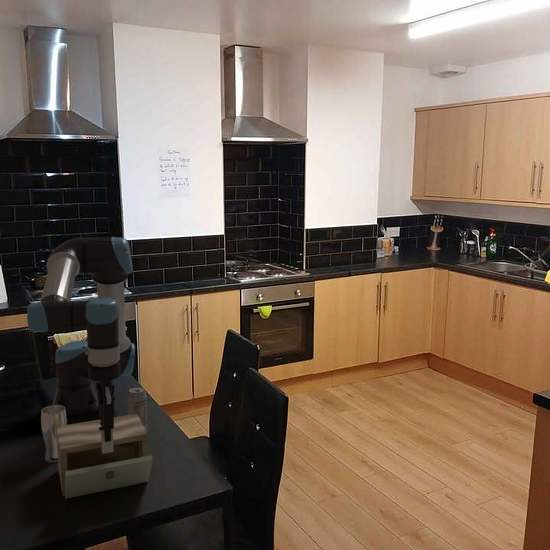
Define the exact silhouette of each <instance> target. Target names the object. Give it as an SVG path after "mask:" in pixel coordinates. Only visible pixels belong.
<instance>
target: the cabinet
mask: <svg viewBox="0 0 550 550" xmlns="http://www.w3.org/2000/svg"><path fill="white" fill-rule="evenodd" d="M99 427H102V426H101V425H100V420H99V419H96V420H89V421H83V422H77V423H71V424H67V425H63V426H57V427H56V434H57V451H58V462H57V466H58V467H57V468H58V469H57V470H58V475H59V476H58V477H59V481H60V488H61V494H62V495H61V496H62V497H65V471H71V470H76V469H81V468H86V467H92V466H97V465H102V464H108V463H113V462H118V461H124V460H129V459H134V458H140V457H145V456H149V445H148V444H149V442H148V441H149V439H148V436H149V435H148V431H147V432H146V430H145V428H144V426H143V424H142V422H141V420H140V418H139V416H138V415H137V414H133V415H128V414H126V415H122V416H114V429H113V452H109V453H104V454H102V448H101V430H100V431H99Z"/></svg>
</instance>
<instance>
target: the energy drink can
mask: <svg viewBox="0 0 550 550" xmlns="http://www.w3.org/2000/svg"><path fill="white" fill-rule="evenodd" d="M147 401H148V399H147V392H146V391H145V388H144V387H138V386H135V387H132V388H129V389H128V393H127V395H126V403H127V404H126V405H127V406H126V407H127V411H126V412H127V415H133V414H137V415H138V416H139V418H140V420H141V422H142V424H143V426H144V428H145V430H146V432H147V433H148V407H147V406H148V403H147Z"/></svg>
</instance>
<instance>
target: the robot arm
mask: <svg viewBox="0 0 550 550" xmlns="http://www.w3.org/2000/svg"><path fill="white" fill-rule="evenodd" d="M132 262H133V260H132V254H131V248H130V244H129V241H128V239H126V238H125V237H117V236H116V237H115V236H111V237H77V238H76V237H75V238H72V239H69V240H66V241H64V242H63V243H61V244H59V245H58V246H57V247H55V249H53V250H52V252H51V253H50V254H49V256H48V258H47V260H46V270H47V274H46V279H45V282H44V286H43V291H42V294H41V296H40V300H39V301H37V302H31V303H29V305H28V306H27V312H26V317H27V318H26V321H27V322H26V323H27V328H28V330H29V331H30V332H32V333H50V332H53V333H54V332H65V331H66V332H67V331H68V332H69V331H86V337H87V340H83V339H82V340H73V341H71V342H67V343H64V344H62V345H60V346H58V348H57V349H56V350H55V360H54V363H55V371H56V372H55V373H56V374H55V375H56V391H55V395H54V398H53V402H52V405H62V406H64V407H65V410H66V417H68V416H69V417H70V416H80V415H84V414H87V413H90V412H92V411H95V409H97V408H98V420H100V425H101V426H102V427H99V431H100V430H101V448H102V454H104V453H109V452H113V429H114V417H115V398H116V397H115V396H114V393H115V385H114V384H113V381H114V380H117V379H119V378H121V377H127V376H131V374H133V371H134V365H135V355H136V354H135V352H136V347H135V343H133V342H131V340H130V338H129V337H128V336H127V334H126V333H127V331H126V328H127V327H126V311H125V310H126V307H125V282H126V281H127V280H128V279H129V274H132V273H133V271H134V270H133V263H132ZM78 275H90V277H91V280H92V282H94V283H95V284H96V290H97V291H96V293H97V298H94V299H92V300H74V301H73V300H72V295H73V291H74V285H75V277H77V276H78ZM93 382H96V384H95V389H94V386H93ZM95 390H96V391H95ZM96 393H97V394H96Z"/></svg>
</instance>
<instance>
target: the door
mask: <svg viewBox="0 0 550 550" xmlns="http://www.w3.org/2000/svg"><path fill="white" fill-rule="evenodd" d="M153 460H154V459H153V455H152V454H150V455H148V456H145V457H140V458H134V459H129V460H124V461H118V462H113V463H108V464H102V465H97V466H92V467H86V468H81V469H76V470H71V471H65V496H64V499H71V498H76V497H80V496H84V495H91V494H96V493H101V492H104V491H105V492H106V491H109V490H115V489H118V488H119V489H120V488H124V487H125V488H126V487H128V486H134V485H139V484H145V483H149V479H150V475H151V471H152V465H153Z"/></svg>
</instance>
